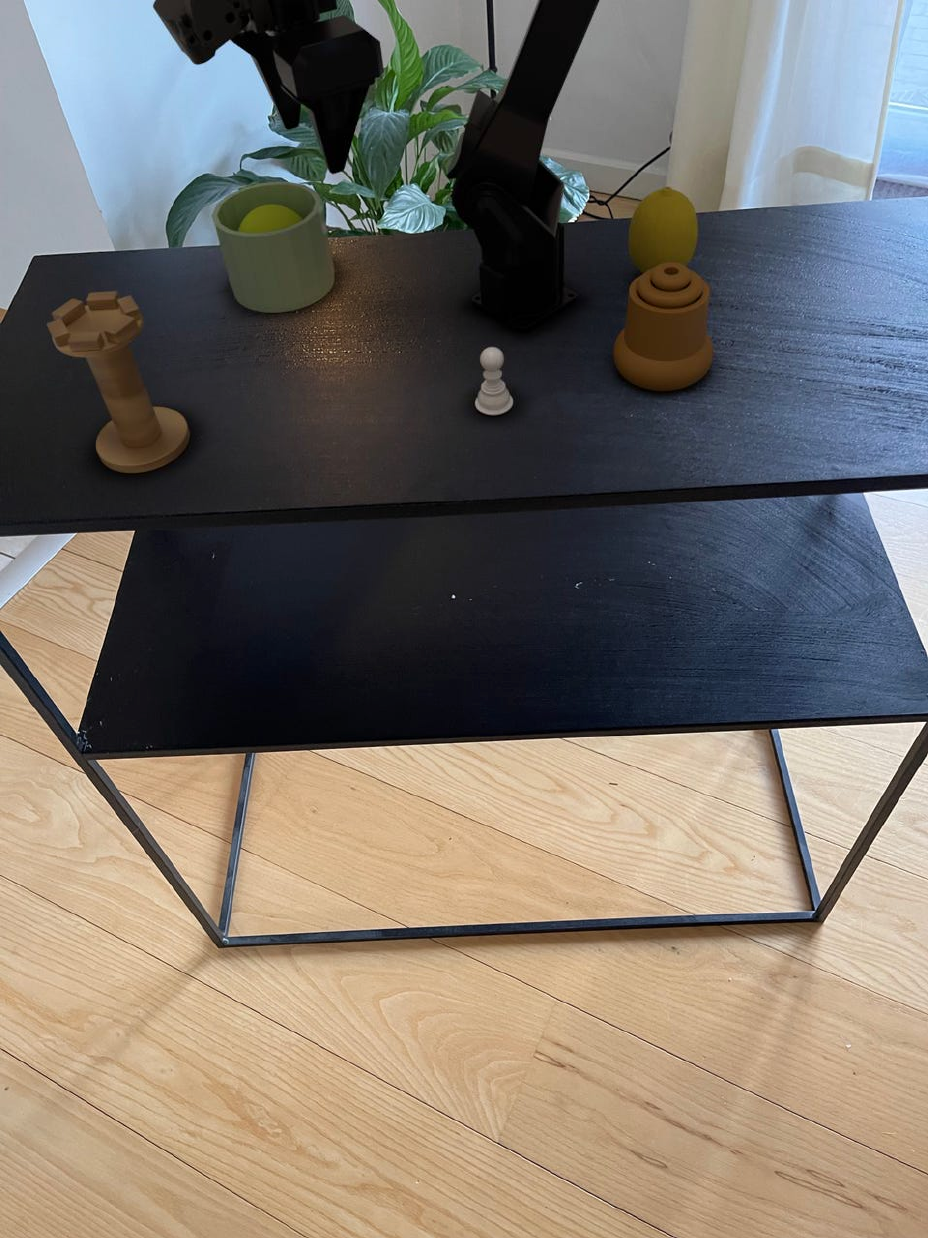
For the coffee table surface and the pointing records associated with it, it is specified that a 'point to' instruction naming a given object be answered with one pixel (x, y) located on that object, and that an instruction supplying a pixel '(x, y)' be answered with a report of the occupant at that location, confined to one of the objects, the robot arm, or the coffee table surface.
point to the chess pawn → (493, 385)
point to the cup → (275, 249)
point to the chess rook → (119, 382)
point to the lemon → (663, 230)
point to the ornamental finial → (665, 330)
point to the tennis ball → (269, 219)
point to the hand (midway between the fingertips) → (313, 149)
